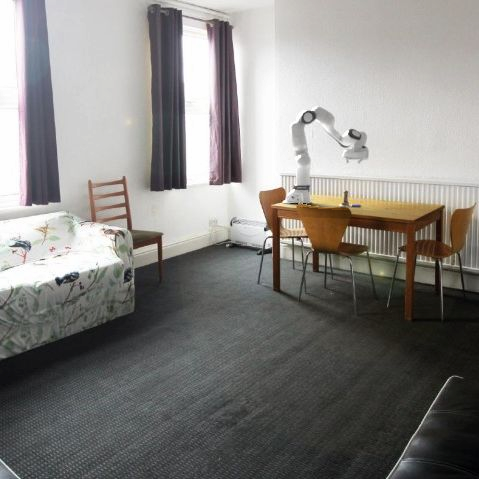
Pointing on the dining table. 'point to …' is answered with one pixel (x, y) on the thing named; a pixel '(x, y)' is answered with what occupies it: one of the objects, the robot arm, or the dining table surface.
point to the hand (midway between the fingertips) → (352, 162)
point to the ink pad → (356, 205)
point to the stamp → (345, 198)
